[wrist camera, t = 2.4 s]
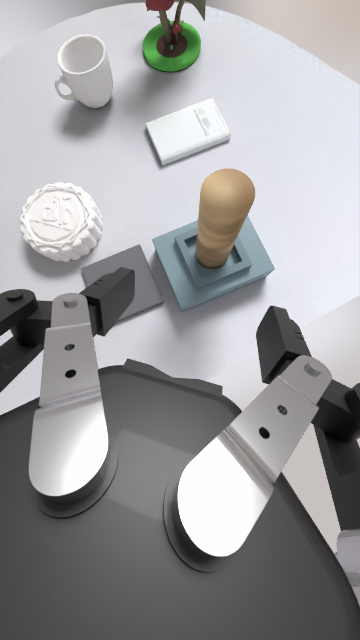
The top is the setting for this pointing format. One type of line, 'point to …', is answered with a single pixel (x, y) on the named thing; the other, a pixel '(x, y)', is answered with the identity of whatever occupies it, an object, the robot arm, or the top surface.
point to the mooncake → (61, 222)
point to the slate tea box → (207, 284)
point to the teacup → (85, 70)
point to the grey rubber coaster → (144, 279)
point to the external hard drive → (187, 131)
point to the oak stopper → (222, 215)
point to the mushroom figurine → (172, 37)
